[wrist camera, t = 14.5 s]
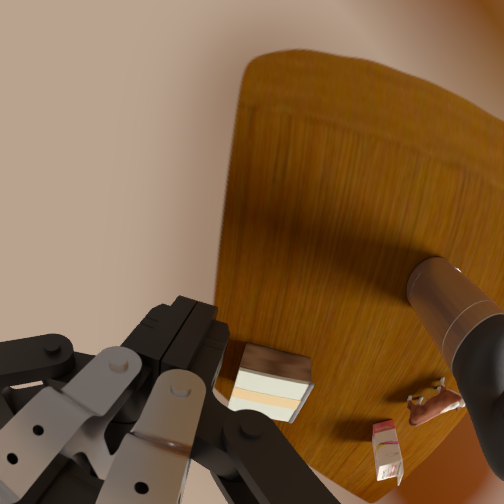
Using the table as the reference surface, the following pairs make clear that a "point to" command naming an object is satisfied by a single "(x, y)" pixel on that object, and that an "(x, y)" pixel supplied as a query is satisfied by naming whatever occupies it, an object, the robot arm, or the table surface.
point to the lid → (269, 394)
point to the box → (275, 362)
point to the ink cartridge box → (387, 451)
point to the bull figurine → (434, 405)
